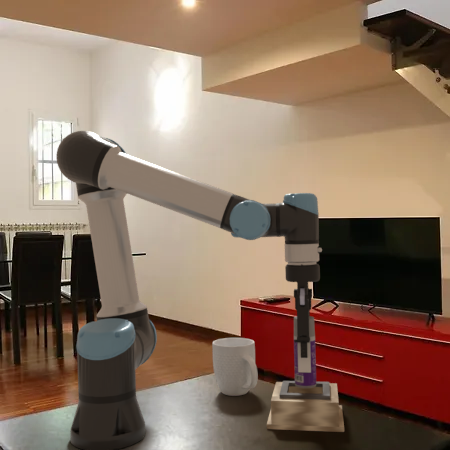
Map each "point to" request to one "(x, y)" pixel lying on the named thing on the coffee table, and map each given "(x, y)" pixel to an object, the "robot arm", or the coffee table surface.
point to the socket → (306, 408)
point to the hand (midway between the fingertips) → (304, 368)
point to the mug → (234, 365)
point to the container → (310, 378)
